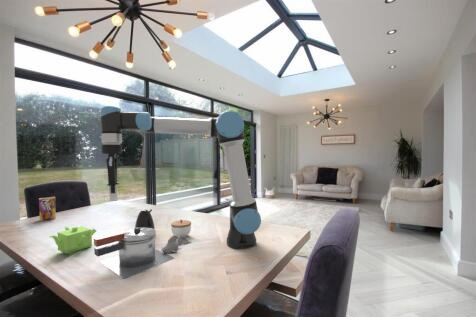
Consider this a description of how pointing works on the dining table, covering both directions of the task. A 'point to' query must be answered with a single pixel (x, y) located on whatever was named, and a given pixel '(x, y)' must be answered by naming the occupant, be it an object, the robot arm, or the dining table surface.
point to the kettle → (74, 239)
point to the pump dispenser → (145, 220)
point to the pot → (130, 252)
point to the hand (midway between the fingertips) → (113, 200)
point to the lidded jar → (181, 228)
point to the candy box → (47, 208)
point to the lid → (126, 236)
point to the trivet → (127, 272)
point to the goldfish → (174, 244)
